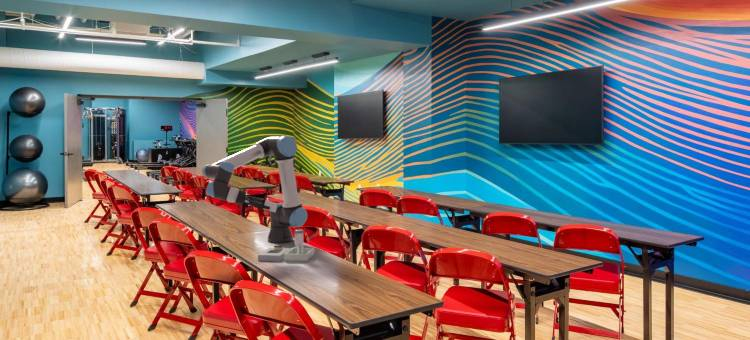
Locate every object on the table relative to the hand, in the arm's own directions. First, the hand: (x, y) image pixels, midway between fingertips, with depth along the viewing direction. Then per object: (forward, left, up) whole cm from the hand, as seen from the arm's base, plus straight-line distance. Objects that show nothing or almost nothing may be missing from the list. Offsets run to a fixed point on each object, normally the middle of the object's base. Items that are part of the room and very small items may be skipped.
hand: (276, 207), depth 259 cm
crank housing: (+3, -1, -26) cm, 26 cm away
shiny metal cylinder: (+4, +13, -25) cm, 28 cm away
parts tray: (+4, +13, -26) cm, 29 cm away
